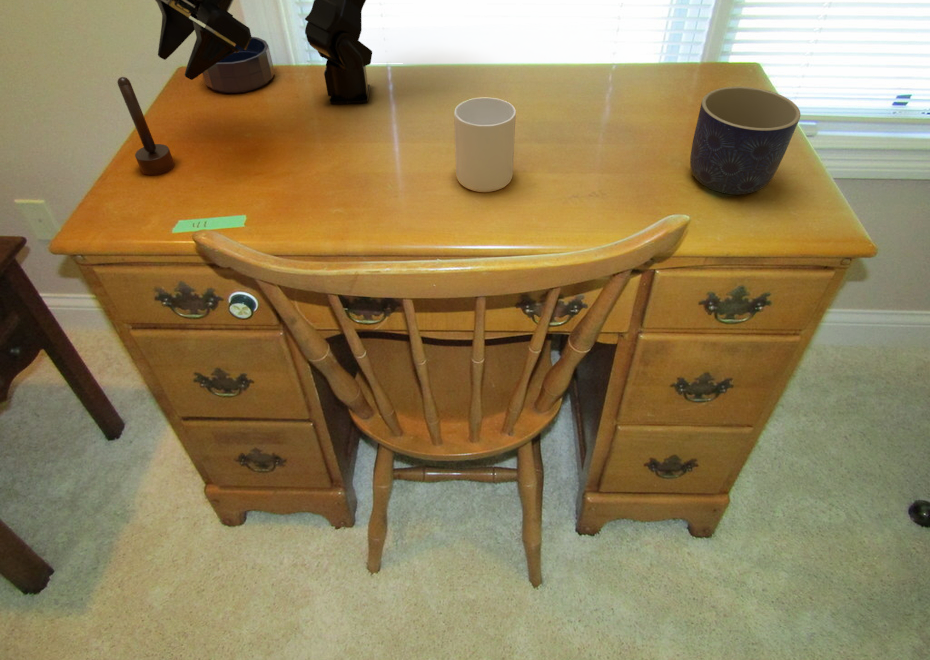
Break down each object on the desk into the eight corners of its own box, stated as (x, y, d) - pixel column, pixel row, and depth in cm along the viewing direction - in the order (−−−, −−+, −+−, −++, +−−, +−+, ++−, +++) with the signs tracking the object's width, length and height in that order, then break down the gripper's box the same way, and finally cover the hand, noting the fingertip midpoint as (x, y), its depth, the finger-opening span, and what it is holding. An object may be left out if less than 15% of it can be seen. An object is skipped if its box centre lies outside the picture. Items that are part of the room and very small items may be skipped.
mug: (453, 151, 97) (451, 86, 90) (506, 149, 98) (508, 83, 90) (457, 195, 89) (456, 127, 82) (516, 192, 89) (519, 124, 82)
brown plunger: (178, 158, 97) (145, 69, 87) (169, 174, 94) (133, 84, 84) (147, 159, 97) (110, 70, 87) (136, 175, 94) (97, 85, 84)
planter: (695, 204, 87) (717, 130, 79) (674, 157, 95) (691, 86, 88) (785, 202, 87) (816, 128, 79) (756, 155, 95) (781, 85, 88)
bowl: (280, 64, 121) (273, 34, 117) (268, 93, 112) (260, 62, 108) (215, 66, 121) (206, 36, 117) (198, 95, 112) (187, 64, 108)
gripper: (141, -89, 85) (93, 17, 88) (202, -62, 75) (145, 58, 78) (213, -36, 94) (167, 59, 97) (276, -5, 84) (222, 100, 87)
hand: (174, 67), depth 89 cm, fingers open, 9 cm apart
